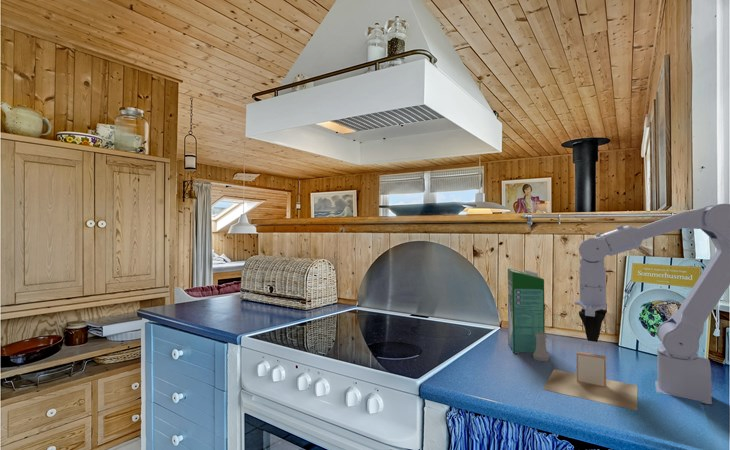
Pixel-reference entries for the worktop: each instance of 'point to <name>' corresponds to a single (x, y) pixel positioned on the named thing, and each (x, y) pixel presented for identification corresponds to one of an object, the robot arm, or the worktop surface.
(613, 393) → the wooden board
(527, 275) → the milk carton
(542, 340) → the rook chess piece
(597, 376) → the tile
